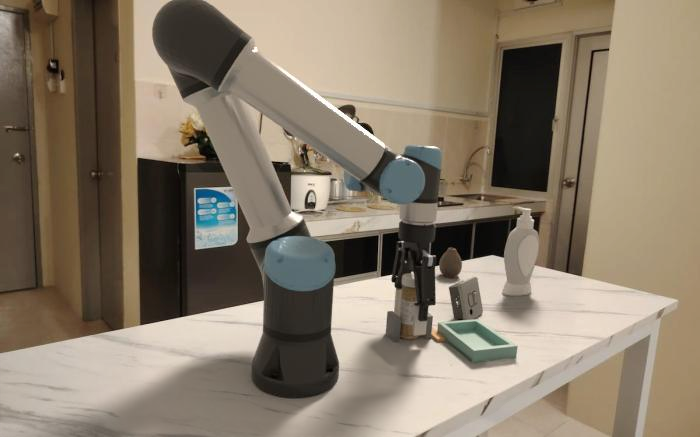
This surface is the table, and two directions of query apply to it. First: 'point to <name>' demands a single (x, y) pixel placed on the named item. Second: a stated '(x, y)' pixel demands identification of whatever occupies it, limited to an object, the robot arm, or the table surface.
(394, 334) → the grey and orange blocks
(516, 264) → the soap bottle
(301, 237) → the robot arm
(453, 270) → the vase
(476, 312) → the electrical switch
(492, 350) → the parts tray
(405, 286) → the sprinkles bottle
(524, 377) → the table surface
